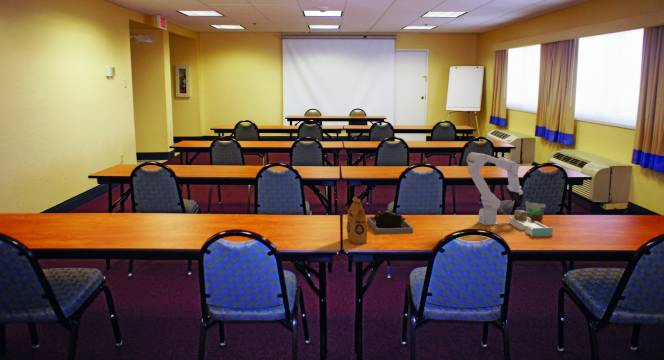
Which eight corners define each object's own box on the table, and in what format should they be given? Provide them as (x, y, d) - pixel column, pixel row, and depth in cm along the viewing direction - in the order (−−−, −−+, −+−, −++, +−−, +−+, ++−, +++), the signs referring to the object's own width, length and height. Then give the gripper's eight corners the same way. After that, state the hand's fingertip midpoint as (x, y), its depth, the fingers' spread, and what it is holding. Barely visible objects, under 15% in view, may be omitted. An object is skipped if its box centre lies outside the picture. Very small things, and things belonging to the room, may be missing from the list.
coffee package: (349, 245, 256) (350, 202, 251) (345, 237, 268) (346, 196, 264) (369, 244, 257) (370, 201, 253) (364, 237, 269) (364, 196, 265)
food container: (520, 217, 310) (521, 201, 308) (525, 216, 314) (526, 200, 312) (539, 221, 301) (541, 205, 299) (544, 220, 305) (546, 203, 303)
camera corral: (377, 233, 275) (377, 229, 274) (367, 220, 300) (367, 216, 300) (412, 232, 278) (413, 228, 277) (400, 219, 303) (400, 215, 302)
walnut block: (518, 220, 293) (518, 212, 292) (514, 218, 298) (514, 210, 297) (526, 220, 294) (527, 212, 293) (522, 218, 298) (522, 210, 298)
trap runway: (533, 236, 272) (533, 228, 271) (508, 222, 298) (509, 215, 297) (552, 235, 273) (553, 227, 272) (526, 222, 299) (527, 214, 298)
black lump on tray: (404, 224, 293) (404, 207, 292) (405, 230, 281) (405, 213, 279) (373, 223, 295) (373, 206, 293) (372, 229, 283) (373, 212, 281)
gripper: (526, 182, 291) (529, 204, 295) (514, 176, 305) (517, 197, 309) (514, 185, 291) (518, 207, 294) (502, 179, 305) (506, 200, 308)
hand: (516, 202), depth 302 cm, fingers open, 7 cm apart
